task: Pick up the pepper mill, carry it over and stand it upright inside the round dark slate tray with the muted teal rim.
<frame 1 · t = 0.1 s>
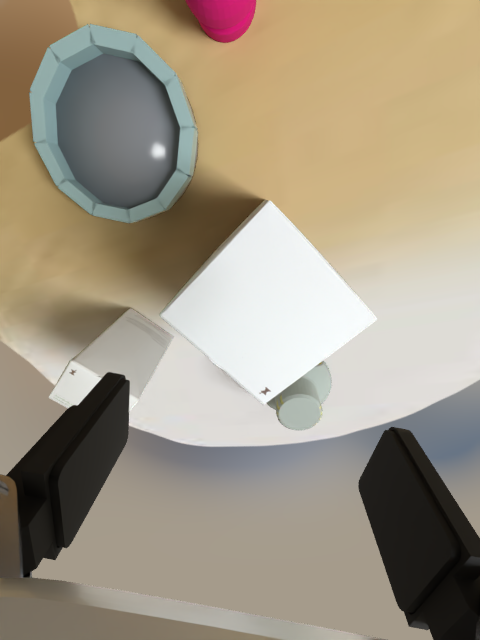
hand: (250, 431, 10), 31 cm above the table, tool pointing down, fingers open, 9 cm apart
supplement box: (264, 269, 40), on the table
skincare box: (145, 334, 45), on the table
pepper mill: (225, 4, 29), on the table
air freshener: (291, 370, 46), on the table
round tray: (124, 140, 34), on the table
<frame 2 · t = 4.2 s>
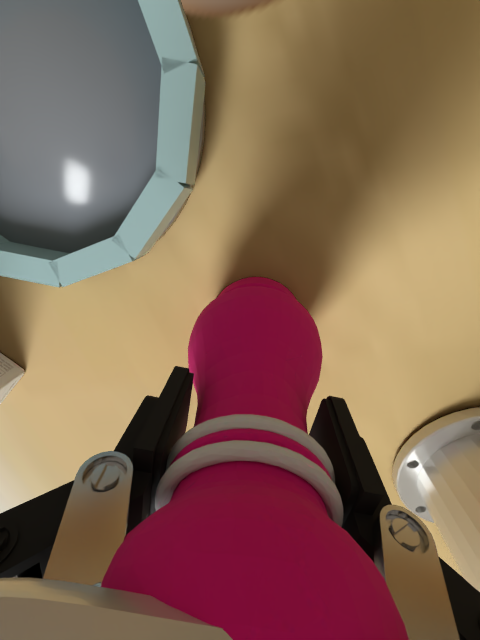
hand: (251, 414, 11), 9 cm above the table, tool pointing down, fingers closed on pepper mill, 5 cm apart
pepper mill: (255, 319, 20), on the table, touching gripper
round tray: (44, 108, 16), on the table
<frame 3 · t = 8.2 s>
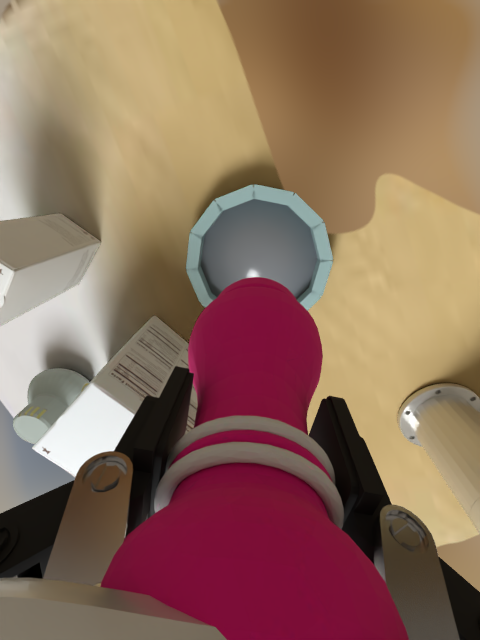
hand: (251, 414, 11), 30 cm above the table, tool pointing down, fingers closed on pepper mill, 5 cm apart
supplement box: (161, 364, 47), on the table
skincare box: (72, 252, 40), on the table
pepper mill: (256, 319, 20), point 21 cm above the table, touching gripper
air freshener: (74, 386, 50), on the table
round tray: (258, 260, 39), on the table
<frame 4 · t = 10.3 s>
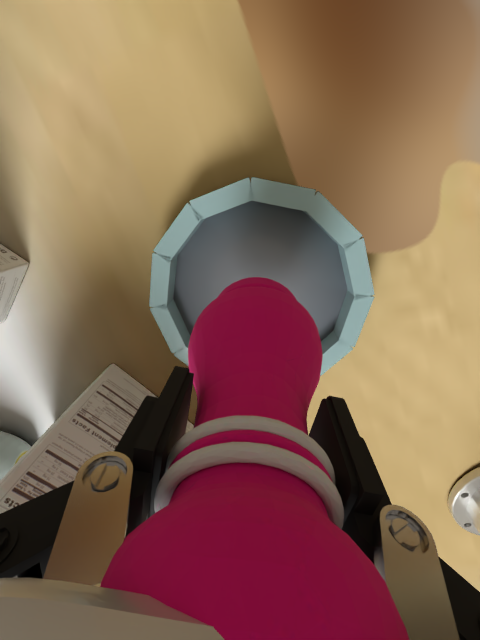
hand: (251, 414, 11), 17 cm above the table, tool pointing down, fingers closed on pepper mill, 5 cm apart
supplement box: (127, 425, 35), on the table
pepper mill: (256, 319, 20), point 7 cm above the table, touching gripper
air freshener: (14, 449, 38), on the table
round tray: (258, 290, 26), on the table
when the fingers open (12 cm above the table, at t = 12.1 s): pepper mill drops 2 cm, resting on round tray.
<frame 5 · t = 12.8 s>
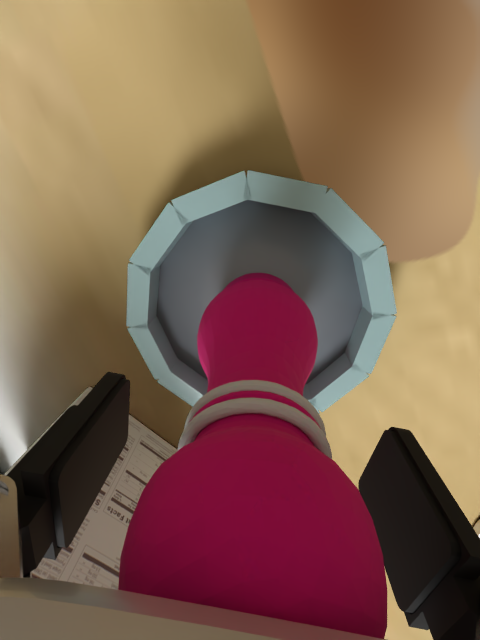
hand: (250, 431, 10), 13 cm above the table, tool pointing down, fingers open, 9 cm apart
supplement box: (109, 453, 31), on the table
pepper mill: (257, 311, 22), point 1 cm above the table, touching round tray
round tray: (256, 305, 23), on the table
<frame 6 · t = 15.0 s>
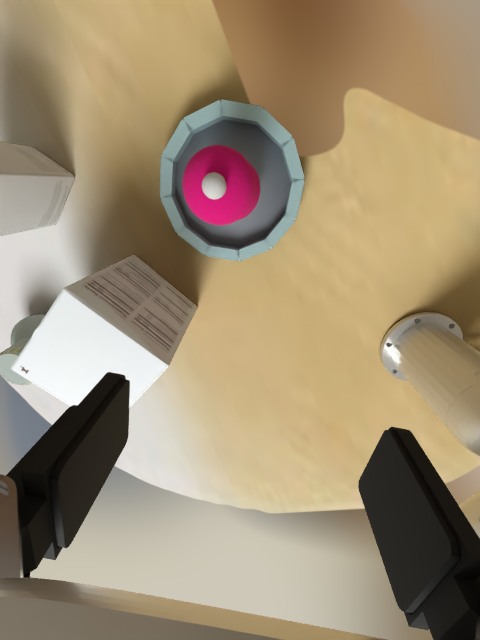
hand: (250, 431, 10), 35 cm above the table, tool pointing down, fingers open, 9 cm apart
supplement box: (144, 308, 47), on the table
skincare box: (47, 189, 40), on the table
pepper mill: (232, 190, 38), point 1 cm above the table, touching round tray
air freshener: (59, 337, 50), on the table
round tray: (232, 188, 39), on the table
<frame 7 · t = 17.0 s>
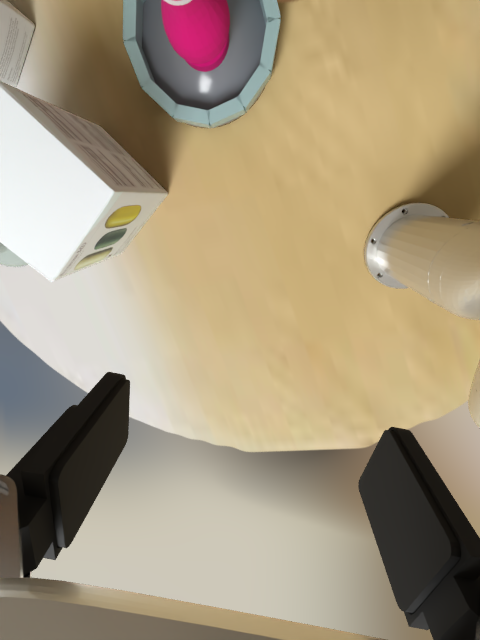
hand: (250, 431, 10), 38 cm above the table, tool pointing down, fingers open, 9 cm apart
supplement box: (111, 195, 44), on the table
skincare box: (7, 43, 37), on the table
pepper mill: (204, 40, 35), point 1 cm above the table, touching round tray
air freshener: (22, 229, 47), on the table
round tray: (204, 43, 36), on the table
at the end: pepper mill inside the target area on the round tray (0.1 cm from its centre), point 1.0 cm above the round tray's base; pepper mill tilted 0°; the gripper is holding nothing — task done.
